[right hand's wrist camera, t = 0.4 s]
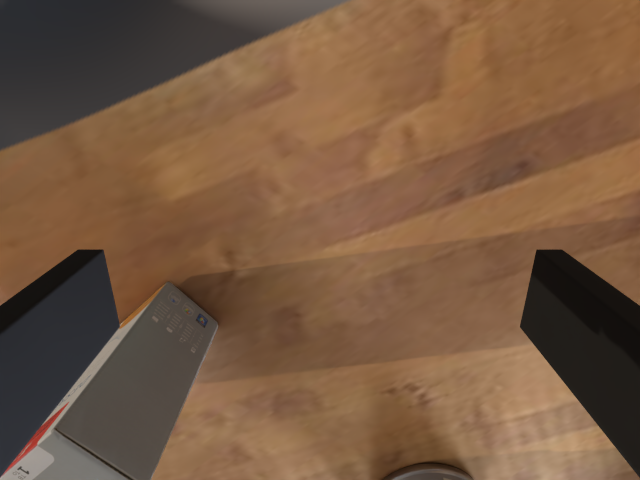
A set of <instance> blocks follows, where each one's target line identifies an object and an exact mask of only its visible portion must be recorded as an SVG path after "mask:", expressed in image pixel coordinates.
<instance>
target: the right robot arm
mask: <svg viewBox="0 0 640 480" xmlns="http://www.w3.org/2000/svg"><path fill="white" fill-rule="evenodd" d="M119 328H120V324H119V320H118V315H117V310H116V306H115V301H114V297H113V292H112V287H111V283H110V278H109V273H108V269H107V264H106V259H105V255H104V250H77V251H76V252H74V253H73V254H71V255H70V256H69V257H67V258H66V259H64V260H63V261H62V262H60V263H59V264H58V265H56V266H55V267H53V268H52V269H51V270H49V271H48V272H46V273H45V274H44V275H42V276H41V277H39V278H38V279H37V280H35V281H34V282H33V283H31V284H30V285H28V286H27V287H26V288H24V289H23V290H21V291H20V292H19V293H17V294H16V295H15V296H13V297H12V298H10V299H9V300H8V301H6V302H5V303H3V304H2V305H1V306H0V477H1V476H2V475H3V473H4V472H5V471H6V470H7V468H8V467H9V466H10V465H11V463H12V462H13V461H14V460H15V458H16V457H17V456H18V455H19V453H20V452H21V451H22V450H23V448H24V447H25V446H26V445H27V443H28V442H29V441H30V439H31V438H32V437H33V436H34V434H35V433H36V432H37V431H38V429H39V428H40V427H41V426H42V424H43V423H44V422H45V421H46V419H47V418H48V417H49V416H50V414H51V413H52V412H53V411H54V409H55V408H56V407H57V406H58V404H59V403H60V402H61V400H62V399H63V398H64V397H65V395H66V394H67V393H68V392H69V390H70V389H71V388H72V387H73V385H74V384H75V383H76V382H77V380H78V379H79V378H80V377H81V375H82V374H83V373H84V372H85V370H86V369H87V368H88V367H89V365H90V364H91V363H92V361H93V360H94V359H95V358H96V356H97V355H98V354H99V353H100V351H101V350H102V349H103V348H104V346H105V345H106V344H107V343H108V341H109V340H110V339H111V338H112V336H113V335H114V334H115V333H116V331H117V330H118V329H119ZM520 328H521V329H522V330H523V331H524V333H525V334H526V335H527V336H528V338H529V339H530V340H531V341H532V343H533V344H534V345H535V346H536V348H537V349H538V350H539V351H540V353H541V354H542V355H543V356H544V358H545V359H546V360H547V361H548V363H549V364H550V365H551V367H552V368H553V369H554V370H555V372H556V373H557V374H558V375H559V377H560V378H561V379H562V380H563V382H564V383H565V384H566V385H567V387H568V388H569V389H570V390H571V392H572V393H573V394H574V395H575V397H576V398H577V399H578V400H579V402H580V403H581V404H582V406H583V407H584V408H585V409H586V411H587V412H588V413H589V414H590V416H591V417H592V418H593V419H594V421H595V422H596V423H597V424H598V426H599V427H600V428H601V429H602V431H603V432H604V433H605V434H606V436H607V437H608V438H609V439H610V441H611V442H612V443H613V445H614V446H615V447H616V448H617V450H618V451H619V452H620V453H621V455H622V456H623V457H624V458H625V460H626V461H627V462H628V463H629V465H630V466H631V467H632V468H633V470H634V471H635V472H636V473H637V475H638V476H639V477H640V306H639V305H638V304H637V303H635V302H634V301H632V300H631V299H630V298H628V297H627V296H625V295H624V294H623V293H621V292H620V291H619V290H617V289H616V288H614V287H613V286H612V285H610V284H609V283H607V282H606V281H605V280H603V279H602V278H601V277H599V276H598V275H596V274H595V273H594V272H592V271H591V270H589V269H588V268H587V267H585V266H584V265H582V264H581V263H580V262H578V261H577V260H576V259H574V258H573V257H571V256H570V255H569V254H567V253H566V252H564V251H563V250H536V255H535V259H534V264H533V269H532V273H531V278H530V283H529V287H528V292H527V297H526V301H525V306H524V310H523V315H522V320H521V324H520ZM383 480H473V479H472V478H471V477H470V476H469V475H468V474H467V473H465V472H463V471H462V470H460V469H457V468H455V467H452V466H448V465H444V464H434V463H426V464H417V465H412V466H408V467H405V468H402V469H400V470H397V471H395V472H393V473H392V474H390V475H388V476H387V477H385V478H384V479H383Z"/></svg>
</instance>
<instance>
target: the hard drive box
mask: <svg viewBox="0 0 640 480" xmlns="http://www.w3.org/2000/svg"><path fill="white" fill-rule="evenodd" d="M217 324H218V323H217V322H216V321H215V320H214V319H213V318H212V317H211V316H210V315H208V314H207V313H206V312H205V311H204V310H202V309H201V308H200V307H199V306H198V305H197V304H195V303H194V302H193V301H192V300H191V299H189V298H188V297H187V296H186V295H185V294H184V293H183V292H181V291H180V290H179V289H178V288H177V287H176V286H174V285H173V284H172V283H171V282H166V283H165V284H164V285H163V286H162V287H161V288H160V289H159V290H157V291H156V292H155V293H154V294H153V295H152V296H151V297H150V298H149V299H148V300H146V301H145V302H144V303H143V304H142V305H141V306H140V307H139V308H138V309H137V310H135V311H134V312H133V313H132V314H131V315H130V316H129V317H128V318H127V319H126V320H124V321H123V322H122V323H121V324H120V328H119V329H118V330H117V331H116V333H115V334H114V335H113V336H112V338H111V339H110V340H109V341H108V343H107V344H106V345H105V346H104V348H103V349H102V350H101V351H100V353H99V354H98V355H97V356H96V358H95V359H94V360H93V361H92V363H91V364H90V365H89V367H88V368H87V369H86V370H85V372H84V373H83V374H82V375H81V377H80V378H79V379H78V380H77V382H76V383H75V384H74V385H73V387H72V388H71V389H70V390H69V392H68V393H67V394H66V395H65V397H64V398H63V399H62V400H61V402H60V403H59V404H58V406H57V407H56V408H55V409H54V411H53V412H52V413H51V414H50V416H49V417H48V418H47V419H46V421H45V422H44V423H43V424H42V426H41V427H40V428H39V429H38V431H37V432H36V433H35V434H34V436H33V437H32V438H31V439H30V441H29V442H28V443H27V445H26V446H25V447H24V448H23V450H22V451H21V452H20V453H19V455H18V456H17V457H16V458H15V460H14V461H13V462H12V463H11V465H10V466H9V467H8V468H7V470H6V471H5V472H4V473H3V475H2V476H1V477H0V480H151V478H152V476H153V474H154V471H155V469H156V467H157V465H158V463H159V460H160V458H161V456H162V453H163V451H164V449H165V447H166V444H167V442H168V440H169V438H170V435H171V433H172V431H173V428H174V426H175V424H176V422H177V419H178V417H179V415H180V412H181V410H182V408H183V406H184V403H185V401H186V399H187V397H188V395H189V392H190V390H191V388H192V385H193V383H194V381H195V379H196V376H197V374H198V372H199V370H200V367H201V365H202V363H203V361H204V358H205V356H206V354H207V352H208V349H209V347H210V345H211V343H212V340H213V338H214V336H215V334H216V331H217V329H218V325H217Z"/></svg>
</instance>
